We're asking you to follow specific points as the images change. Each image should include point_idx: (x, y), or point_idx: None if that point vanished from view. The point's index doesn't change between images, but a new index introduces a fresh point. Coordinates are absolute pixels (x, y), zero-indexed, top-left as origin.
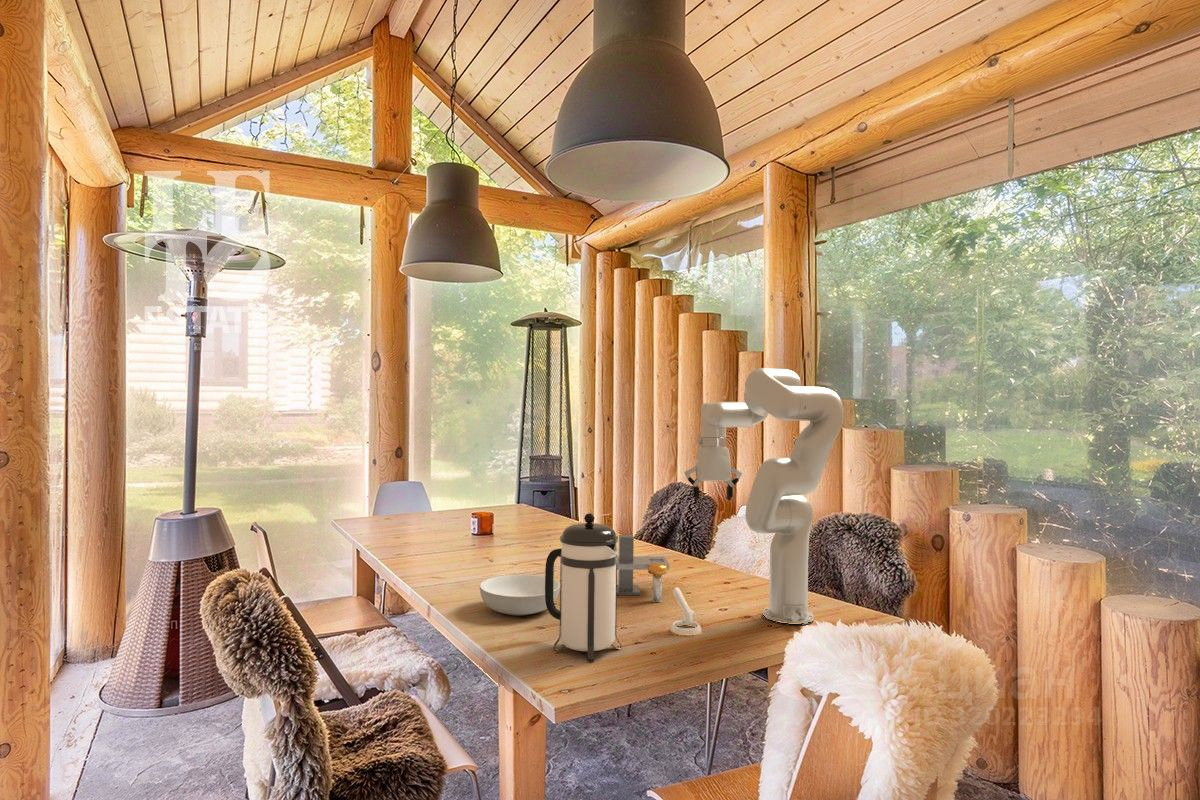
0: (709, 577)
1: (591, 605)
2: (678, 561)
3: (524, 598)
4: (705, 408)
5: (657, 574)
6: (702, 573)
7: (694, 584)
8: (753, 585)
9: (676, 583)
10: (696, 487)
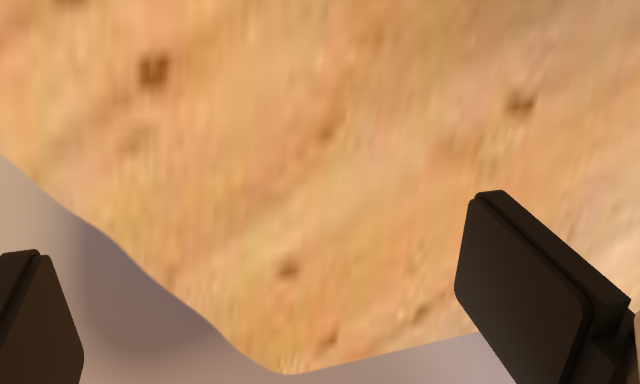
0: (227, 146)
1: None
2: (321, 330)
3: None
4: None
5: None
6: (251, 199)
7: (299, 26)
8: (21, 37)
9: (370, 35)
10: (611, 311)
